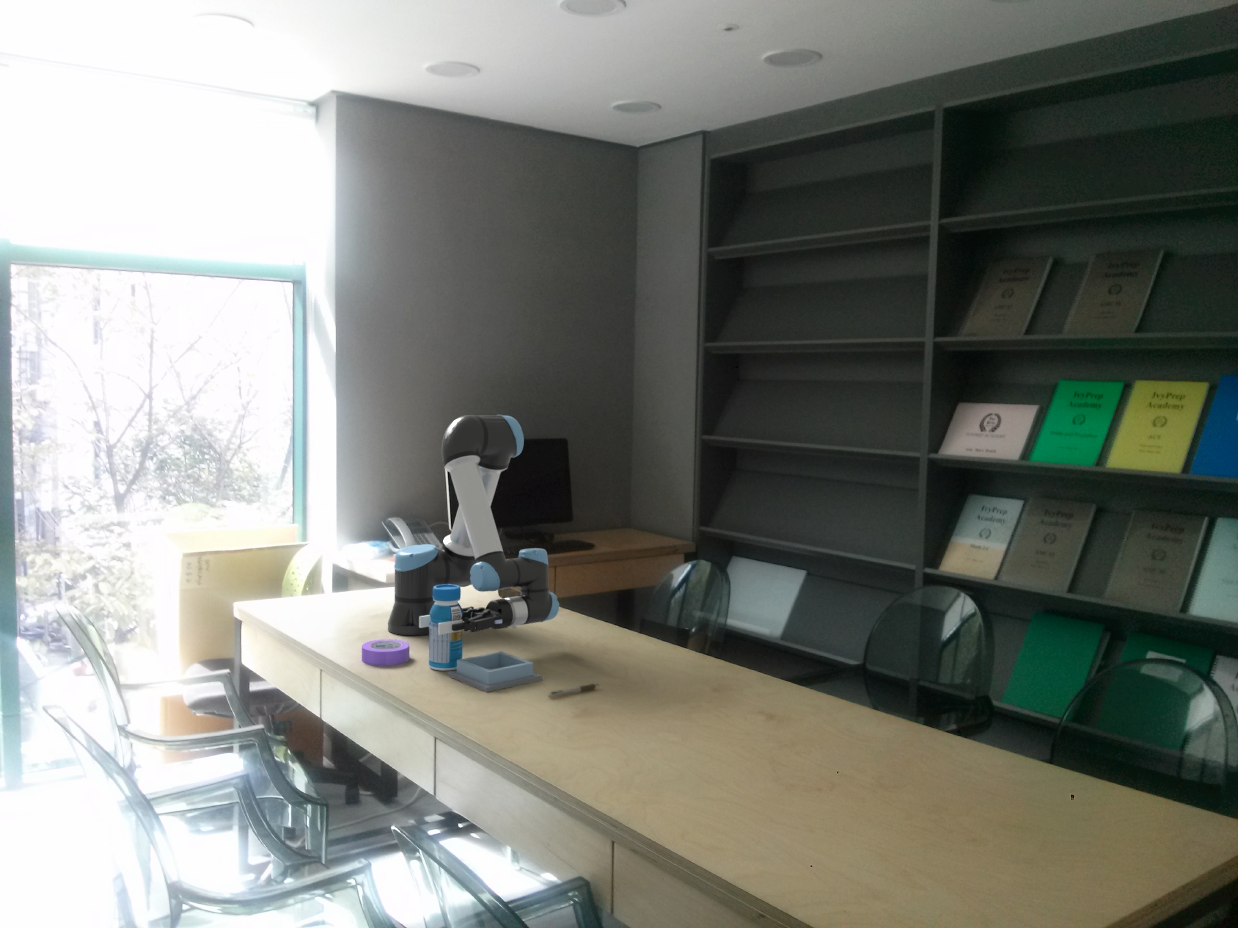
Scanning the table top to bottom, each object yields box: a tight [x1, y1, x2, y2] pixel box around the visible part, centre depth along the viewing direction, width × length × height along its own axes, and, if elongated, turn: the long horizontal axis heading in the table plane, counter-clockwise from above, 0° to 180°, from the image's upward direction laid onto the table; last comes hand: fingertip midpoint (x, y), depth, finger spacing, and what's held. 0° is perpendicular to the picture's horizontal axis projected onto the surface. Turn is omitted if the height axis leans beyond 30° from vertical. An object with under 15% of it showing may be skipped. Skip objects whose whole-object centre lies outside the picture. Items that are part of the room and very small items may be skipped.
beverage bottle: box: [428, 584, 464, 672], centre depth 249 cm, size 8×8×20 cm
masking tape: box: [361, 638, 410, 666], centre depth 255 cm, size 12×12×4 cm
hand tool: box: [497, 588, 521, 599], centre depth 328 cm, size 19×4×5 cm, turn 33°
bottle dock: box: [447, 651, 543, 693], centre depth 241 cm, size 16×16×4 cm
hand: (429, 625), depth 245 cm, fingers closed on beverage bottle, 8 cm apart
